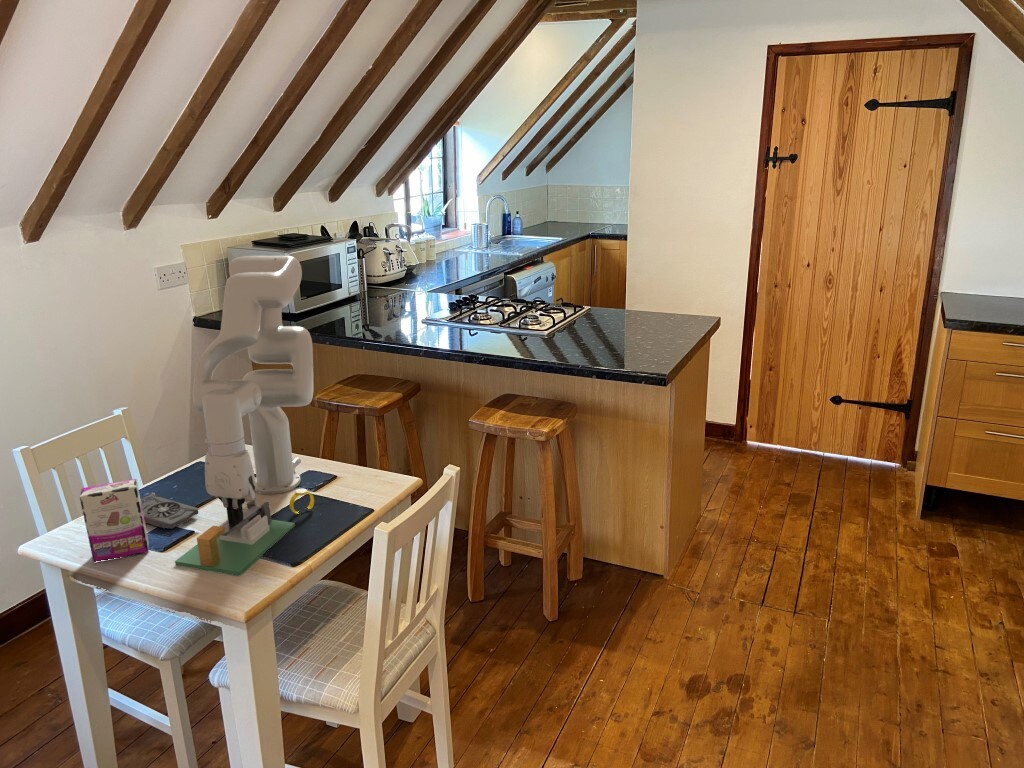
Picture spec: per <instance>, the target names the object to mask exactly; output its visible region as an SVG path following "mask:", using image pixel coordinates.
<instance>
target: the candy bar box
mask: <svg viewBox="0 0 1024 768" xmlns="http://www.w3.org/2000/svg"><path fill="white" fill-rule="evenodd" d="M141 499H142V498H141V495H140V491H139V485H138V480H137V478H133V479H127V480H122V481H121V480H120V481H116V482H110V483H104V484H98V485H94V486H86V487H82V488H81V491H80V495H79V500H80V505H81V510H82V514H83V518H84V523H85V528H86V532H87V533H86V534H87V537H88V542H89V546H90V552H91V557H92V561H93V563H94V562H96V561H101V560H108V559H114V558H119V559H121V558H120V557H124V558H128V556H129V557H134V556H137V555H142V554H147V553H149V545H150V543H149V542H150V541H149V537H148V531H147V526H146V523H145V520H144V515H143V509H142V504H141ZM133 555H134V556H133ZM114 560H115V559H114Z"/></svg>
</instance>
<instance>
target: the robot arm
mask: <svg viewBox="0 0 1024 768" xmlns="http://www.w3.org/2000/svg"><path fill="white" fill-rule="evenodd" d="M228 273H229V277H228V278H227V280H226V283H225V286H224V294H223V295H224V296H223V305H222V314H221V323H220V331H219V335H218V336H217V337H216V338H215V339H214V340H213V341H212V342H210V344H209V345H208V346H207V347H206V348H205V350H204V351H203V353H202V354H201V356H200V357H199V359H198V361H197V363H196V366H195V370H194V377H193V385H192V387H193V388H192V401H193V405H194V408H195V409H196V410H197V411H199V412H201V413H202V414H203V415H204V416H203V417H204V424H205V433H206V438H204V445H207V447H208V450H207V451H206V452H205V457H204V481H205V490H206V493H207V494H209V495H210V496H212V497H214V498H216V499H219V501H220V502H221V503H222V506H223V507H224V508H225V509H226V515H227V520H228V522H229V524H231V525H232V524H233V525H236V524H238V523H239V522H241V521H242V520H243V512H244V509H243V505H244V504H245V503H248V502H249V501H252V500H255V499H256V497H257V496H256V494H255V492H256V493H258V494H262V495H276V494H282V493H286V492H289V491H292V490H293V489H295V488H296V487H298V486H299V485H300V483H301V482H302V480H301V475H300V474H299V473H298V472H296V471H295V469H296V468H297V466H299V465H300V464H301V463H302V460H301V459H300V458H299V457H295V458H294V459H293V454H292V453H293V452H292V443H291V435H290V432H291V431H290V423H289V419H288V417H287V414H286V413H285V412H284V410H283V409H282V407H284V408H286V407H304V406H305V407H306V406H308V405H309V404H311V402H312V400H313V395H314V354H313V353H314V348H313V347H314V346H313V340H312V336H311V333H310V331H308V329H307V328H305V327H302V326H297V325H293V326H292V325H290V326H289V325H288V326H287V325H286V326H284V325H283V319H282V318H283V315H282V313H283V312H282V309H283V308H286V307H287V306H289V304H290V303H291V301H292V300H293V297H294V295H295V294H296V292H297V291H298V289H299V287H300V285H301V281H302V277H303V276H302V275H303V271H302V265H301V263H300V261H299V260H298V259H297V258H296V257H294V256H291V255H243V256H238V257H235V258H233V259H232V260H230V263H229V264H228ZM246 349H247V355H248V358H249V360H251V361H252V362H253V363H256V364H261V365H263V364H264V365H271V364H272V365H278V364H279V365H284V364H285V365H286V364H287V365H288V364H290V365H291V366H292V368H293V369H292V368H287V369H286V368H285V369H283V368H282V369H281V368H280V369H279V368H271V369H269V368H268V369H267V368H266V369H265V368H261V369H255V370H251V371H249V372H247V373H246V374H244V375H243V378H242V379H213V376H214V373H215V371H216V369H217V367H218V366H219V365H220V364H221V363H222V362H223V361H224V360H225V359H227V358H229V357H231V356H233V355H234V354H236V353H239V352H241V351H243V350H246ZM246 415H248V419H249V426H250V428H249V429H250V434H251V435H250V436H251V444H252V452H253V460H254V467H253V462H252V460H251V456H250V453H249V450H247V449H246V440H245V432H244V424H243V417H245V416H246ZM254 468H255V469H254ZM254 470H255V472H254ZM255 476H256V477H255Z"/></svg>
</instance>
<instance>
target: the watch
mask: <svg viewBox="0 0 1024 768" xmlns="http://www.w3.org/2000/svg"><path fill="white" fill-rule="evenodd" d="M307 494H308V495H309V499H310V501H309V504H308V506H307V507H306V508H308V509H311V510H312V509H313V507H314V506H315V505H314V504H315V497H314V495H313V494H312V492H310V491H309V490H308V489H306V488H298V489H295V490H294V494H293V495H292V496H291V497H290V500H289V509H290V510H291V512H292V513H294V514H295V515H297V514H299V513H298V512H299V511H296V510H295V508H294V503H295V501H296V499H297V498H298V497H301V496H305V495H307Z"/></svg>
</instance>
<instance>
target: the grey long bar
mask: <svg viewBox="0 0 1024 768" xmlns="http://www.w3.org/2000/svg"><path fill="white" fill-rule="evenodd" d="M261 505H262V504H256V503H255V504H254V505H253V506H251V507H250V508H249V509H245V510H243V520H242V521H241V522H239V523H238V524H236V525H233V524H232V525H231V524H229V523H227V524H226V525H225V526H223V527H225V529H226V532H224V533H223V534H222V536H227V535H228V534H230V533H231V532H232V531H234V530H235V529H237V528H238V527H239V526H241V525H242V524H243V523H245V522H246V521H248V520H249V519H250V518H252V517H253V516H254V515H256V514H257V513H258V512H260V511H261Z"/></svg>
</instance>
